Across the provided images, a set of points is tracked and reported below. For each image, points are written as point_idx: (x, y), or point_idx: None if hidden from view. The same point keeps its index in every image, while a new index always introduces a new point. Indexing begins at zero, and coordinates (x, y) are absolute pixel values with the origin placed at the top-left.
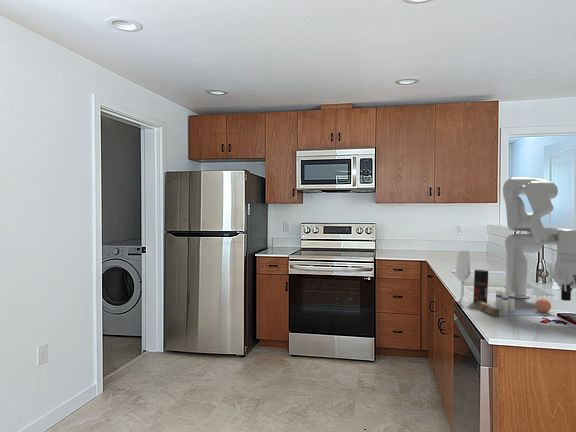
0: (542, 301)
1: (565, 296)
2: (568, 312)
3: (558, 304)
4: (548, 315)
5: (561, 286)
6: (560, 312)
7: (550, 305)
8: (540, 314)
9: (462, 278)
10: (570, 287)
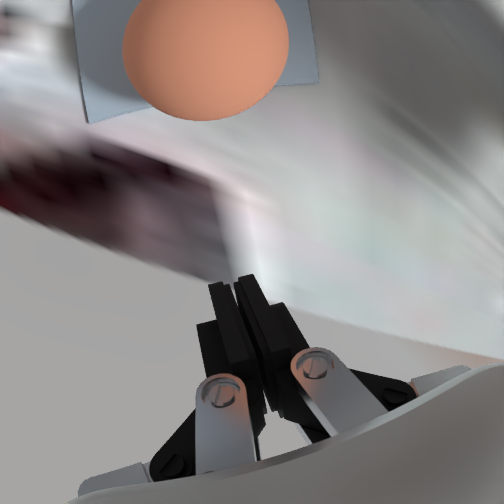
0: (153, 4)
1: (218, 331)
2: (256, 279)
3: (442, 289)
4: (79, 65)
5: (332, 400)
6: (243, 220)
7: (152, 103)
8: (102, 8)
9: None
10: (139, 476)
